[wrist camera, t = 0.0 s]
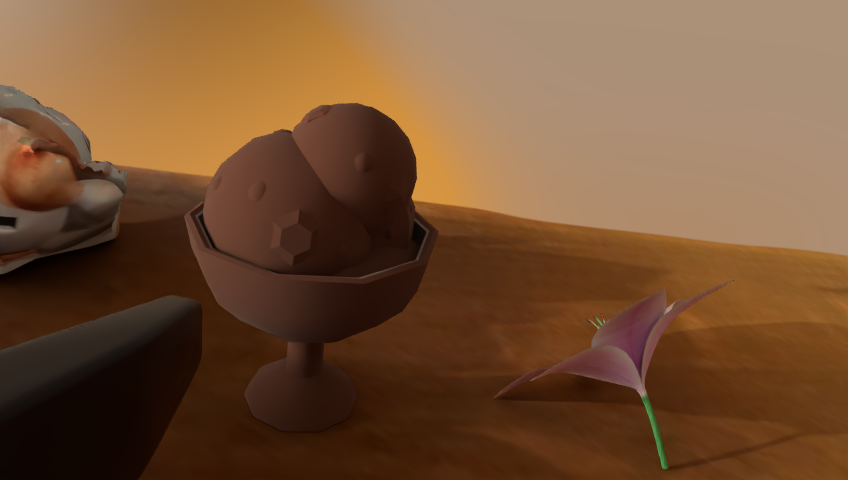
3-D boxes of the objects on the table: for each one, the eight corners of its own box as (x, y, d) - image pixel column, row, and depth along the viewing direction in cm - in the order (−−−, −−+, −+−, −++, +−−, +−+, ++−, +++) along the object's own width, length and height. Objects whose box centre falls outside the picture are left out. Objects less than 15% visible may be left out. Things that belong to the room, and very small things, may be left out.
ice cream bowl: (357, 323, 41) (387, 72, 35) (446, 446, 32) (507, 141, 26) (171, 349, 36) (168, 62, 30) (217, 504, 27) (226, 144, 21)
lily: (686, 393, 41) (650, 238, 40) (836, 465, 30) (790, 250, 29) (499, 456, 39) (457, 295, 38) (580, 559, 28) (523, 332, 27)
